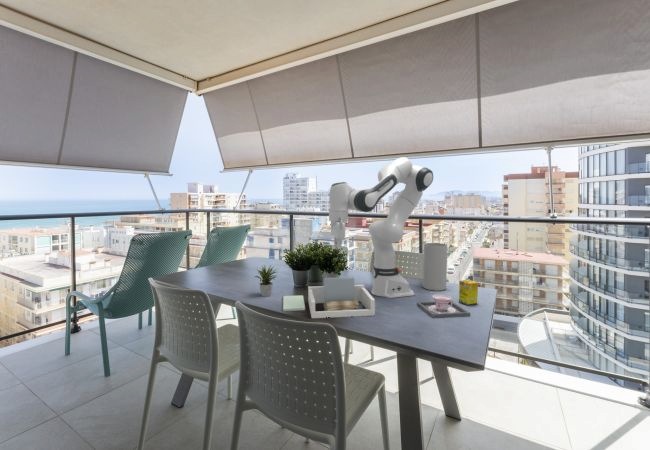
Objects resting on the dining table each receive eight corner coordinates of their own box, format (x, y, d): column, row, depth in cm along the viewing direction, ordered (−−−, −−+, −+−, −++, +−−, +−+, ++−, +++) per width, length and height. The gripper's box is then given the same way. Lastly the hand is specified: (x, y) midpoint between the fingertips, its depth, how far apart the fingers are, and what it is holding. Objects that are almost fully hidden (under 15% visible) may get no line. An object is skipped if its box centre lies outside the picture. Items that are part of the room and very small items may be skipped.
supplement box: (458, 302, 162) (459, 280, 161) (468, 301, 164) (468, 279, 163) (467, 306, 156) (468, 283, 155) (477, 304, 158) (478, 282, 157)
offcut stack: (355, 309, 153) (355, 299, 153) (359, 314, 147) (359, 304, 146) (324, 311, 150) (324, 301, 150) (327, 316, 144) (327, 306, 144)
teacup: (423, 310, 151) (423, 297, 150) (436, 304, 159) (436, 291, 159) (448, 317, 142) (449, 303, 142) (460, 310, 151) (461, 297, 150)
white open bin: (363, 300, 166) (363, 284, 165) (374, 315, 144) (374, 297, 143) (308, 302, 163) (308, 286, 162) (311, 318, 141) (311, 300, 140)
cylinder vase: (448, 291, 180) (449, 246, 178) (424, 290, 182) (425, 245, 180) (443, 285, 192) (444, 243, 190) (421, 284, 194) (422, 242, 192)
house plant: (274, 300, 165) (273, 268, 164) (248, 299, 168) (247, 267, 167) (283, 292, 179) (282, 262, 178) (259, 291, 182) (258, 262, 181)
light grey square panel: (353, 305, 157) (353, 276, 156) (354, 307, 154) (354, 278, 153) (323, 307, 155) (323, 277, 154) (324, 309, 153) (324, 279, 151)
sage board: (303, 297, 171) (303, 295, 171) (305, 310, 151) (305, 308, 151) (283, 297, 170) (283, 296, 170) (283, 311, 150) (283, 308, 150)
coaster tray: (450, 303, 160) (450, 300, 159) (470, 316, 143) (470, 312, 143) (417, 305, 158) (417, 302, 157) (432, 317, 141) (432, 314, 141)
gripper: (349, 218, 143) (348, 250, 144) (341, 216, 163) (341, 244, 164) (334, 218, 142) (333, 250, 143) (329, 216, 162) (328, 244, 163)
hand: (337, 247), depth 154 cm, fingers open, 8 cm apart
